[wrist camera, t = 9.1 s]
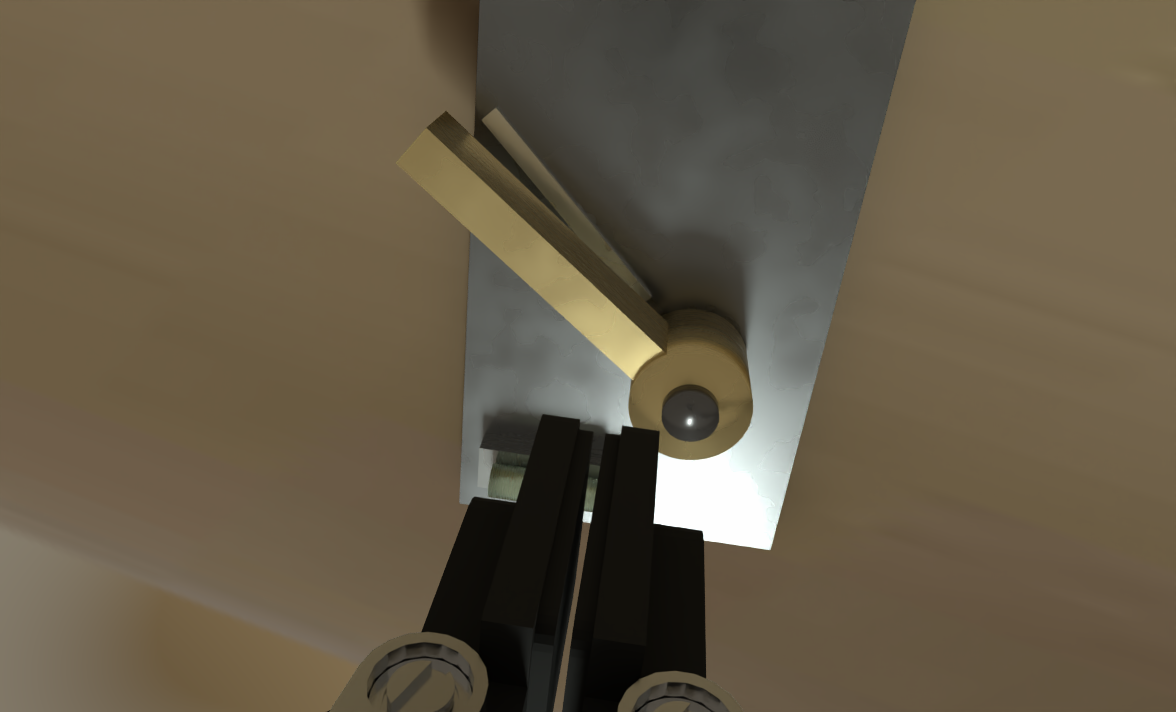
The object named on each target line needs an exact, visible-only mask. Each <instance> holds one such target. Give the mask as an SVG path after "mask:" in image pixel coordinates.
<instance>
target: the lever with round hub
mask: <svg viewBox="0 0 1176 712" xmlns="http://www.w3.org/2000/svg"><path fill="white" fill-rule="evenodd" d="M396 164H397V165H398V166H399V167H401V168H402V169H403V170H404V171H405V172H406V173H407V174H408V175H409V176H410V177H411V178H413V179H414V180H415V181H416V182H417V183H418V184H419V185H420V186H421V187H422V188H423V189H425V190H426V191H427V192H428V193H429V194H430V195H431V196H432V197H433V198H434V199H435V200H437V201H438V202H439V203H440V204H441V205H442V206H443V207H444V208H445V209H446V210H447V211H449V212H450V213H451V214H452V215H453V216H454V217H455V218H456V219H457V220H458V221H459V222H461V223H462V224H463V225H464V226H465V227H466V228H467V229H468V230H469V231H470V232H471V233H473V234H474V235H475V236H476V237H477V238H478V239H479V240H480V241H481V242H482V243H483V244H485V245H486V246H487V247H488V248H489V249H490V250H491V251H492V252H493V253H494V254H495V255H497V256H498V257H499V258H500V259H501V260H502V261H503V262H504V263H505V264H506V265H507V266H509V267H510V268H511V269H512V270H513V271H514V272H515V273H516V274H517V275H518V276H520V277H521V278H522V279H523V280H524V281H525V282H526V283H527V284H528V285H529V286H530V287H532V288H533V289H534V290H535V291H536V292H537V293H538V294H539V295H540V296H541V297H542V298H544V299H545V300H546V301H547V302H548V303H549V304H550V305H551V306H552V307H553V308H554V309H556V310H557V311H558V312H559V313H560V314H561V315H562V316H563V317H564V318H565V319H566V320H568V321H569V322H570V323H571V324H572V325H573V326H574V327H575V328H576V329H577V330H578V331H580V332H581V333H582V334H583V335H584V336H585V337H586V338H587V339H588V340H589V341H590V342H592V343H593V344H594V345H595V346H596V347H597V348H598V349H599V350H600V351H601V352H602V353H604V354H605V355H606V356H607V357H608V358H609V359H610V360H611V361H612V362H613V363H614V364H616V365H617V366H618V367H619V368H620V369H621V370H622V371H623V372H624V373H625V374H626V375H628V376H629V377H630V378H631V386H630V394H629V404H628V409H629V416H630V420H631V423H632V426H633V427H637V428H643V429H650V430H657V431H660V437H659V453H661V454H663V455H666V456H669V457H672V458H676V459H681V460H701V459H707V458H711V457H714V456H717V455H719V454H721V453H723V452H726V451H727V450H729V449H730V448H732V447H733V446H734V445H735V444H737V443H738V442H739V441H740V439H741V438H742V437H743V436H744V434H745V433H746V431H747V430H748V428H749V426H750V423H751V420H752V415H753V399H752V391H751V383H750V375H749V367H748V359H747V351H746V347H745V344H744V341H743V339H742V337H741V335H740V334H739V332H738V331H737V330H736V328H735V327H734V326H733V325H732V324H731V323H729V322H728V321H727V320H725V319H724V318H722V317H721V316H719V315H717V314H715V313H712V312H709V311H705V310H700V309H682V310H677V311H673V312H670V313H667V314H665V315H663V316H660V315H659V314H658V313H657V312H656V311H655V310H654V309H653V308H652V307H651V306H650V305H649V304H648V303H647V302H646V301H645V300H644V299H643V298H642V297H640V296H639V295H638V294H637V293H636V292H635V291H634V290H633V289H632V288H631V287H630V286H629V285H628V284H627V283H626V282H625V281H624V280H623V279H622V278H621V277H620V276H618V275H617V274H616V273H615V272H614V271H613V270H612V269H611V268H610V267H609V266H608V265H607V264H606V263H605V262H604V261H603V260H602V259H601V258H600V257H599V256H598V255H596V254H595V253H594V252H593V251H592V250H591V249H590V248H589V247H588V246H587V245H586V244H585V243H584V242H583V241H582V240H581V239H580V238H579V237H578V236H577V235H576V234H575V233H573V232H572V231H571V230H570V229H569V228H568V227H567V226H566V225H565V224H564V223H563V222H562V221H561V220H560V219H559V218H558V217H557V216H556V215H555V214H554V213H553V212H551V211H550V210H549V209H548V208H547V207H546V206H545V205H544V204H543V203H542V202H541V201H540V200H539V199H538V198H537V197H536V196H535V195H534V194H533V193H532V192H531V191H530V190H528V189H527V188H526V187H525V186H524V185H523V184H522V183H521V182H520V181H519V180H518V179H517V178H516V177H515V176H514V175H513V174H512V173H511V172H510V171H509V170H508V169H506V168H505V167H504V166H503V165H502V164H501V163H500V162H499V161H498V160H497V159H496V158H495V157H494V156H493V155H492V154H491V153H490V152H489V151H488V150H487V149H486V148H484V147H483V146H482V145H481V144H480V143H479V142H478V141H477V140H476V139H475V138H474V137H473V136H472V135H471V134H470V133H469V132H468V131H467V130H466V129H465V128H464V127H463V126H461V125H460V124H459V123H458V122H457V121H456V120H455V119H454V118H453V117H452V116H451V115H450V114H449V113H448V112H447V111H445V112H444V113H443V114H442V115H441V116H440V117H438V118H437V119H436V120H435V121H434V122H433V123H431V124H430V125H429V126H428V127H427V128H426V129H425V130H424V131H423V132H422V133H421V135H420V136H419V137H418V138H417V139H416V140H415V141H414V143H413V144H412V145H411V146H410V147H409V148H408V149H407V151H406V152H405V153H404V154H403V155H402V156H401V157H400V159H399V160H398V161H397V162H396Z"/></svg>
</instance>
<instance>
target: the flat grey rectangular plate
mask: <svg viewBox="0 0 1176 712" xmlns="http://www.w3.org/2000/svg"><path fill="white" fill-rule="evenodd" d="M915 1H916V0H480V6H479V31H478V56H477V81H476V106H475V131H474V138H475V139H476V140H477V141H478V142H479V143H480V144H481V145H482V146H483V147H484V148H486V149H487V150H488V151H489V152H490V153H491V154H492V155H493V156H494V157H495V158H496V159H497V160H498V161H499V162H500V163H501V164H502V165H503V166H504V167H505V168H506V169H508V170H509V171H510V172H511V173H512V174H513V175H514V176H515V177H516V178H517V179H518V180H519V181H520V182H521V183H522V184H523V185H524V186H525V187H526V188H527V189H528V190H530V191H531V192H532V193H533V194H534V195H535V196H536V197H537V198H538V199H539V200H540V201H541V202H542V203H543V204H544V205H545V206H546V207H547V208H548V209H549V210H550V211H551V212H553V213H554V214H555V215H556V216H557V217H558V218H559V219H560V220H561V221H562V222H563V223H564V224H565V225H566V226H567V227H568V228H569V229H570V230H571V231H572V232H573V233H575V234H576V235H577V236H578V237H579V238H580V239H581V240H582V241H583V242H584V243H585V244H586V245H587V246H588V247H589V248H590V249H591V250H592V251H593V252H594V253H595V254H596V255H598V256H599V257H600V258H601V259H602V260H603V261H604V262H605V263H606V264H607V265H608V266H609V267H610V268H611V269H612V270H613V271H614V272H615V273H616V274H617V275H618V276H620V277H621V278H622V279H623V280H624V281H625V282H626V283H627V284H628V285H629V286H630V287H631V288H632V289H633V290H634V291H635V292H636V293H637V294H638V295H639V296H640V297H642V298H643V299H644V300H645V301H646V302H647V303H648V304H649V305H650V306H651V307H652V308H653V309H654V310H655V311H656V312H657V313H658V314H659V315H660V316H663V315H665V314H667V313H670V312H673V311H677V310H682V309H700V310H705V311H709V312H712V313H715V314H717V315H719V316H721V317H722V318H724V319H725V320H727V321H728V322H729V323H731V324H732V325H733V326H734V327H735V328H736V330H737V331H738V332H739V334H740V335H741V337H742V339H743V341H744V344H745V347H746V351H747V359H748V367H749V375H750V383H751V391H752V399H753V415H752V420H751V423H750V426H749V428H748V430H747V431H746V433H745V434H744V436H743V437H742V438H741V439H740V441H739V442H738V443H737V444H735V445H734V446H733V447H732V448H730V449H729V450H727V451H726V452H723V453H721V454H719V455H717V456H714V457H711V458H707V459H701V460H681V459H676V458H672V457H669V456H666V455H663V454H661V453H659V452H658V468H657V483H656V499H655V514H654V523H655V524H662V525H669V526H675V527H682V528H689V529H695V530H702V531H703V535H704V540H707V541H714V542H721V543H727V544H734V545H741V546H747V547H754V548H761V549H767V550H770V549H771V545H772V541H773V538H774V534H775V530H776V526H777V523H778V519H779V515H780V511H781V507H782V504H783V500H784V496H785V492H786V489H787V485H788V481H789V477H790V473H791V470H792V466H793V462H794V458H795V455H796V451H797V447H798V443H799V439H800V436H801V432H802V428H803V424H804V421H805V417H806V413H807V409H808V405H809V402H810V398H811V394H812V390H813V387H814V383H815V379H816V375H817V371H818V368H819V364H820V360H821V356H822V353H823V349H824V345H825V341H826V338H827V334H828V330H829V326H830V322H831V319H832V315H833V311H834V307H835V304H836V300H837V296H838V292H839V288H840V285H841V281H842V277H843V273H844V270H845V266H846V262H847V258H848V254H849V251H850V247H851V243H852V239H853V236H854V232H855V228H856V224H857V220H858V217H859V213H860V209H861V205H862V202H863V198H864V194H865V190H866V186H867V183H868V179H869V175H870V171H871V168H872V164H873V160H874V156H875V152H876V149H877V145H878V141H879V137H880V134H881V130H882V126H883V122H884V119H885V115H886V111H887V107H888V103H889V100H890V96H891V92H892V88H893V85H894V81H895V77H896V73H897V69H898V66H899V62H900V58H901V54H902V51H903V47H904V43H905V39H906V35H907V32H908V28H909V24H910V20H911V17H912V13H913V9H914V5H915ZM630 386H631V378H630V377H629V376H628V375H626V374H625V373H624V372H623V371H622V370H621V369H620V368H619V367H618V366H617V365H616V364H614V363H613V362H612V361H611V360H610V359H609V358H608V357H607V356H606V355H605V354H604V353H602V352H601V351H600V350H599V349H598V348H597V347H596V346H595V345H594V344H593V343H592V342H590V341H589V340H588V339H587V338H586V337H585V336H584V335H583V334H582V333H581V332H580V331H578V330H577V329H576V328H575V327H574V326H573V325H572V324H571V323H570V322H569V321H568V320H566V319H565V318H564V317H563V316H562V315H561V314H560V313H559V312H558V311H557V310H556V309H554V308H553V307H552V306H551V305H550V304H549V303H548V302H547V301H546V300H545V299H544V298H542V297H541V296H540V295H539V294H538V293H537V292H536V291H535V290H534V289H533V288H532V287H530V286H529V285H528V284H527V283H526V282H525V281H524V280H523V279H522V278H521V277H520V276H518V275H517V274H516V273H515V272H514V271H513V270H512V269H511V268H510V267H509V266H507V265H506V264H505V263H504V262H503V261H502V260H501V259H500V258H499V257H498V256H497V255H495V254H494V253H493V252H492V251H491V250H490V249H489V248H488V247H487V246H486V245H485V244H483V243H482V242H481V241H480V240H479V239H478V238H477V237H476V236H475V235H474V234H473V233H471V232H470V255H469V280H468V305H467V330H466V354H465V379H464V404H463V429H462V454H461V479H460V503H461V504H468V505H469V504H470V502H471V500H472V498H473V497H474V496H475V497H482V498H489V499H495V500H502V501H509V502H515V503H516V500H517V497H518V494H519V490H520V487H521V483H522V480H523V477H524V473H525V470H526V467H527V463H528V460H529V457H530V453H531V450H532V446H533V443H534V440H535V436H536V433H537V430H538V426H539V423H540V420H541V417H542V415H543V414H547V415H554V416H561V417H567V418H574V419H580V430H587V431H593V432H594V433H593V443H592V451H591V459H590V467H589V475H588V483H587V491H586V499H585V507H584V515H583V522H588V523H591V518H592V512H593V506H594V500H595V494H596V488H597V482H598V476H599V470H600V464H601V458H602V452H603V446H604V440H605V434H606V433H607V434H614V435H621V429H622V425H623V426H630V427H633V426H632V423H631V420H630V416H629V409H628V404H629V394H630Z"/></svg>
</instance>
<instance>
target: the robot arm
mask: <svg viewBox="0 0 1176 712" xmlns="http://www.w3.org/2000/svg"><path fill="white" fill-rule="evenodd" d="M593 433H594V432H593V431H587V430H580V419H574V418H567V417H561V416H554V415H547V414H543V415H542V417H541V420H540V423H539V426H538V430H537V433H536V436H535V440H534V443H533V446H532V450H531V453H530V457H529V460H528V463H527V467H526V470H525V473H524V477H523V480H522V483H521V487H520V490H519V494H518V497H517V500H516V503H515V502H509V501H502V500H495V499H489V498H482V497H475V496H474V497H473V498H472V500H471V502H470V504H469V506H468V509H467V512H466V514H465V517H464V520H463V522H462V525H461V528H460V530H459V533H458V536H457V538H456V541H455V544H454V546H453V549H452V552H451V554H450V557H449V560H448V562H447V565H446V568H445V570H444V573H443V576H442V578H441V581H440V584H439V586H438V589H437V592H436V594H435V597H434V600H433V602H432V605H431V608H430V610H429V613H428V616H427V618H426V621H425V624H424V626H423V629H422V632H421V633H410V634H406V635H402V636H399V637H396V638H393V639H390V640H388V641H387V642H385V643H383V644H382V645H380V646H379V647H377V648H376V649H374V650H372V651H371V653H370V654H369V655H368V656H367V657H366V658H365V659H364V660H363V662H362V663H361V664H360V665H359V666H358V668H357V670H356V671H355V673H354V674H353V676H352V678H351V679H350V680H349V682H348V684H347V685H346V687H345V688H344V690H343V691H342V693H341V694H340V696H339V697H338V699H337V700H336V702H335V704H334V705H333V707H332V709H331V710H329V711H328V712H553V708H554V702H555V696H556V691H557V685H558V679H559V674H560V668H561V662H562V656H563V651H564V645H565V639H566V633H567V628H568V622H569V616H570V611H571V605H572V599H573V593H574V586H575V579H576V572H577V563H578V555H579V547H580V539H581V531H582V523H583V515H584V507H585V499H586V491H587V483H588V475H589V467H590V459H591V451H592V443H593ZM659 437H660V431H657V430H650V429H643V428H637V427H630V426H623V425H622V429H621V435H614V434H607V433H606V434H605V440H604V446H603V452H602V458H601V464H600V470H599V476H598V482H597V488H596V494H595V500H594V506H593V512H592V518H591V524H590V530H589V536H588V542H587V548H586V554H585V560H584V566H583V572H582V578H581V584H580V590H579V596H578V602H577V608H576V614H575V620H574V627H573V633H572V640H571V647H570V655H569V663H568V671H567V679H566V686H565V694H564V702H563V710H562V712H744V710H743V709H742V708H741V706H740V705H739V704H738V703H737V702H736V700H735V699H734V698H733V697H732V695H731V694H730V693H728V692H727V691H725V690H724V689H723V688H721V687H720V686H719V685H717V684H716V683H715V682H713V681H710V680H708V679H706V641H705V578H704V535H703V531H702V530H695V529H689V528H682V527H675V526H669V525H662V524H655V523H654V514H655V499H656V483H657V468H658V452H659Z"/></svg>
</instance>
